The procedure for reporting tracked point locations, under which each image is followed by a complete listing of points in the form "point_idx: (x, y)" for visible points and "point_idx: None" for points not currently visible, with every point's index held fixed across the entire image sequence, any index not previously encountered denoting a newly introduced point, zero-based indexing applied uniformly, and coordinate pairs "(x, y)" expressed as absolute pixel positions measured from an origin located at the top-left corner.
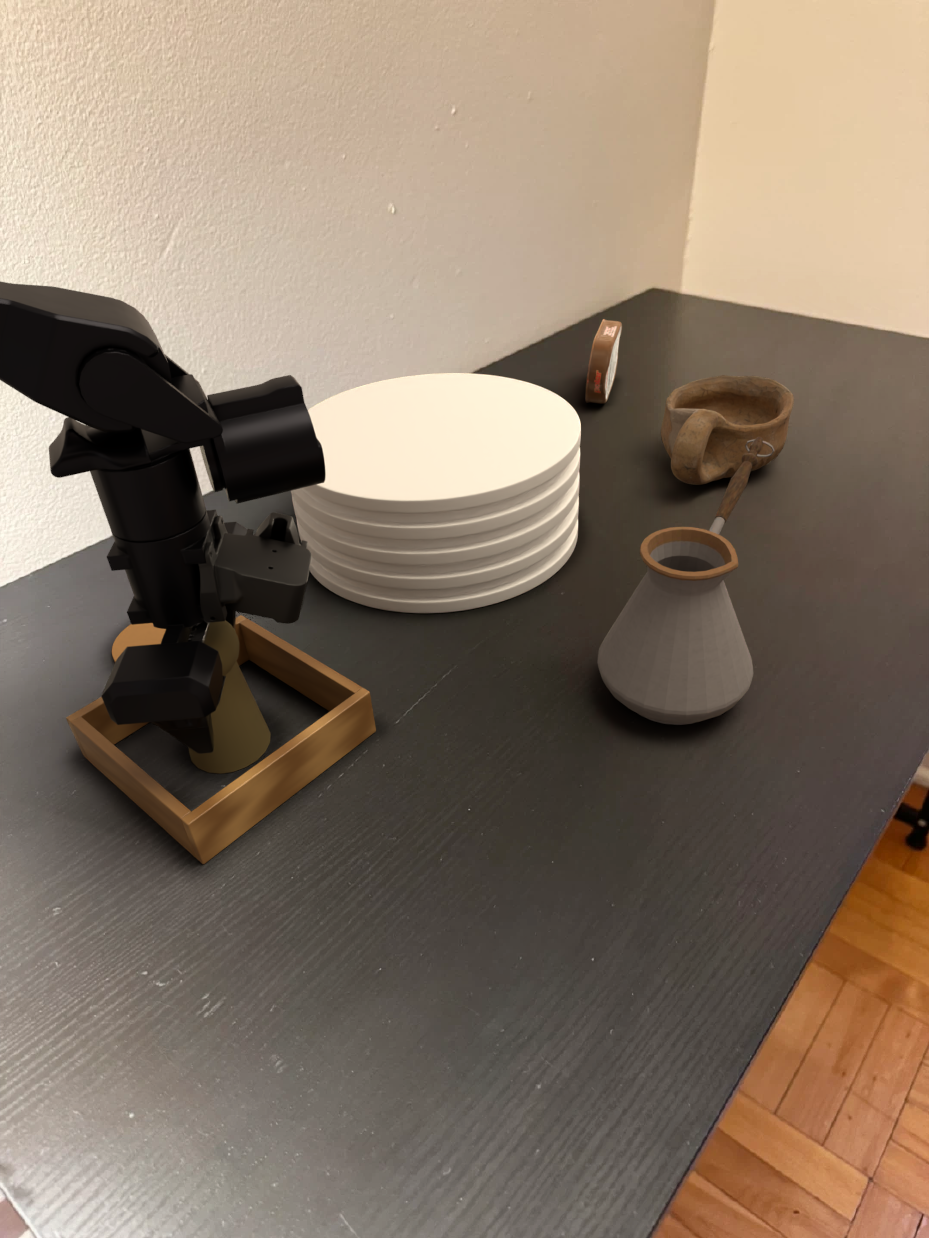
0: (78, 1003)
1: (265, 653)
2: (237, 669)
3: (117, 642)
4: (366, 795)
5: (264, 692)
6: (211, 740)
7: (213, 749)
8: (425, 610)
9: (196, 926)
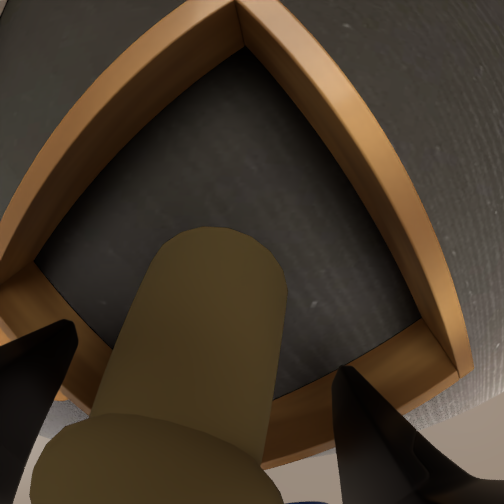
0: (486, 380)
1: (28, 243)
2: (169, 393)
3: None
4: (409, 72)
5: (94, 236)
6: (376, 390)
7: (350, 366)
8: (3, 1)
9: (491, 313)
